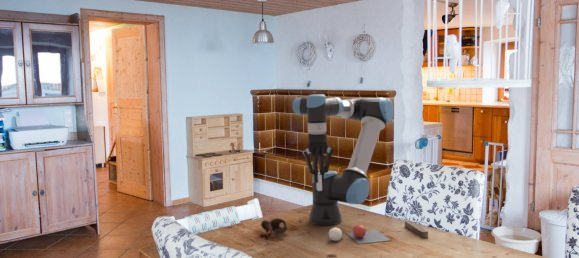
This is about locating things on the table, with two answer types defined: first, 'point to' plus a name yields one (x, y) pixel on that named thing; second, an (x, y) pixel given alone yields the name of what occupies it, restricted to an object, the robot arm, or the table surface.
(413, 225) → the strip
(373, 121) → the robot arm
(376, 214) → the table surface
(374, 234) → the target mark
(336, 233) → the cue ball
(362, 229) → the red ball
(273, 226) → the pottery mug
